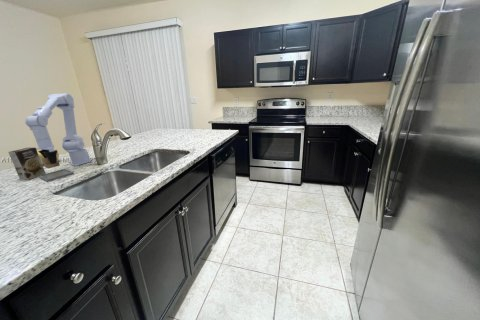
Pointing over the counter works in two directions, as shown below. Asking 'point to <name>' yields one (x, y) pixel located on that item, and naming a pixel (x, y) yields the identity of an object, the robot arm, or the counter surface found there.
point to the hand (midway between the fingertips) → (52, 162)
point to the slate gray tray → (56, 175)
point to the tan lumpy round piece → (43, 157)
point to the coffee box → (27, 163)
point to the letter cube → (48, 164)
